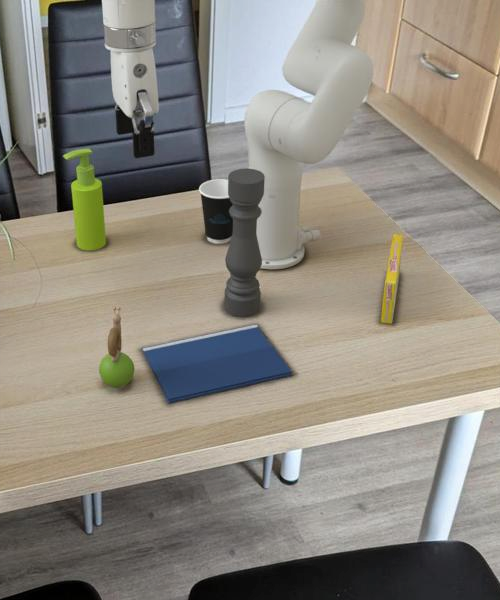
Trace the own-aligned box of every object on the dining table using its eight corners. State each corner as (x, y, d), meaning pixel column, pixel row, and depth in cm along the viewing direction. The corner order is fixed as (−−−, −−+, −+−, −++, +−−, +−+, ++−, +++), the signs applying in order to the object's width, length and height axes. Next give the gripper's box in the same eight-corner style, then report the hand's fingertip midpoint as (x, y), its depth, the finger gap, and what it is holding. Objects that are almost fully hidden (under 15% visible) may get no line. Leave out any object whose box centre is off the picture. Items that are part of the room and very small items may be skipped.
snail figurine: (137, 368, 132) (134, 306, 125) (132, 395, 127) (129, 331, 120) (104, 367, 133) (99, 305, 126) (97, 393, 128) (92, 330, 121)
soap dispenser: (67, 241, 167) (58, 149, 156) (98, 233, 170) (91, 141, 158) (78, 254, 163) (69, 160, 152) (110, 245, 165) (104, 152, 154)
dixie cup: (213, 252, 161) (213, 201, 155) (191, 235, 167) (191, 185, 161) (247, 240, 164) (249, 190, 158) (224, 224, 170) (225, 175, 163)
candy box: (386, 272, 151) (392, 232, 147) (399, 274, 151) (405, 234, 146) (378, 322, 139) (384, 281, 134) (392, 324, 138) (398, 282, 133)
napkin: (255, 325, 140) (255, 322, 140) (291, 375, 129) (292, 372, 128) (142, 350, 136) (141, 346, 136) (168, 403, 125) (168, 399, 124)
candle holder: (258, 318, 142) (265, 185, 128) (222, 315, 143) (224, 184, 129) (261, 298, 147) (267, 168, 133) (225, 296, 148) (228, 167, 134)
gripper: (173, 47, 115) (175, 162, 124) (137, 16, 129) (142, 121, 138) (120, 55, 113) (127, 170, 123) (90, 23, 127) (98, 128, 137)
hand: (135, 144), depth 131 cm, fingers open, 9 cm apart
